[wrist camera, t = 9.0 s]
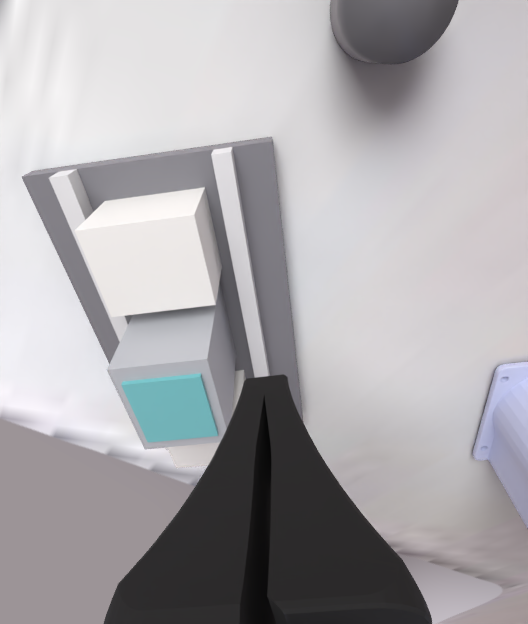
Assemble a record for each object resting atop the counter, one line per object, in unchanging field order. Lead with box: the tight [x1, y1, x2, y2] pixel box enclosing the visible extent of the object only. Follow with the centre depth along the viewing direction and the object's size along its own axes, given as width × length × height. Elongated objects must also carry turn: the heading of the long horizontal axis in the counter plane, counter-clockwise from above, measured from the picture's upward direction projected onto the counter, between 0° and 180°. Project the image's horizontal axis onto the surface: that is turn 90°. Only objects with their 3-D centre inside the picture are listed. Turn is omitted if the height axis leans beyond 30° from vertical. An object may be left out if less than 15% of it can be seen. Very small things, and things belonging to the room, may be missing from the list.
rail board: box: [22, 137, 303, 468], centre depth 20 cm, size 18×11×4 cm, turn 7°
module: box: [107, 282, 236, 449], centre depth 19 cm, size 5×4×6 cm
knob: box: [330, 0, 458, 64], centre depth 13 cm, size 4×4×3 cm
